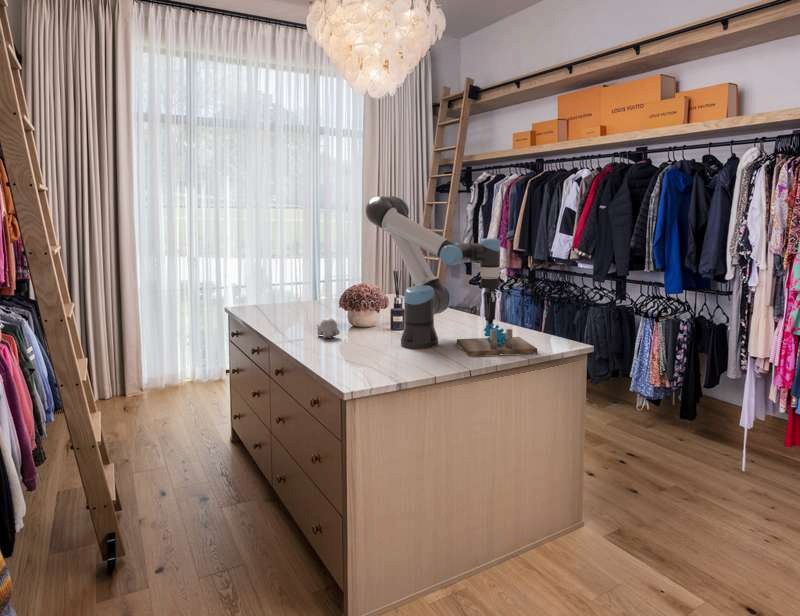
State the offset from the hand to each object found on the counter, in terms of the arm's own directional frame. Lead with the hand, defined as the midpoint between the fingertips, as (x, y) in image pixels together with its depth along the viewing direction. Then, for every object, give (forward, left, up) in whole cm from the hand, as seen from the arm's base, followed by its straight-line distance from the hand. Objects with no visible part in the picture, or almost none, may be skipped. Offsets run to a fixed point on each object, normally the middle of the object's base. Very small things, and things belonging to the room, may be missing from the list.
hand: (489, 335), depth 241 cm
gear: (0, -9, -2) cm, 9 cm away
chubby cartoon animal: (-65, +25, -4) cm, 70 cm away
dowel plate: (0, -9, -3) cm, 9 cm away
